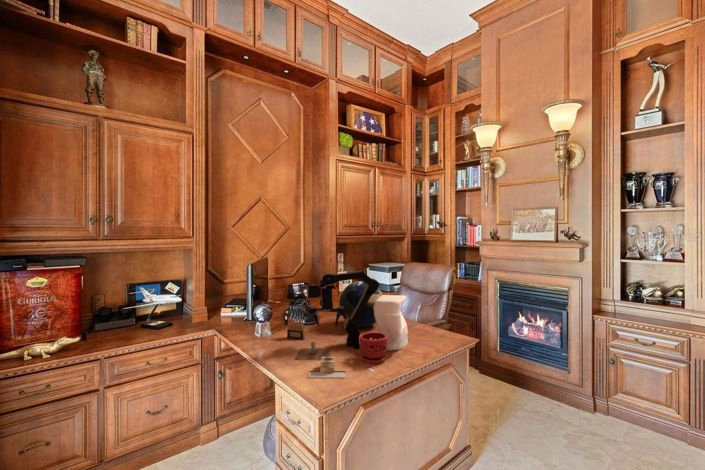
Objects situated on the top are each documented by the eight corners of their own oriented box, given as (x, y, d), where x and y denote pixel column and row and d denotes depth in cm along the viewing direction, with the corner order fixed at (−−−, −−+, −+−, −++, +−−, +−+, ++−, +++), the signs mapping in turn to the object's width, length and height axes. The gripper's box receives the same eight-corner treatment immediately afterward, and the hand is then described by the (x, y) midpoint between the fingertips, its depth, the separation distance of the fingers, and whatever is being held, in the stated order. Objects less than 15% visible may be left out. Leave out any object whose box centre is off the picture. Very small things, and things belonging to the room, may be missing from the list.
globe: (332, 323, 224) (332, 279, 224) (371, 318, 237) (371, 276, 236) (350, 335, 197) (350, 285, 196) (393, 329, 209) (393, 282, 209)
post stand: (330, 350, 173) (330, 337, 173) (327, 362, 157) (327, 348, 157) (300, 350, 173) (300, 337, 173) (294, 362, 157) (294, 348, 157)
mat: (346, 364, 154) (346, 364, 154) (345, 378, 140) (345, 377, 140) (312, 364, 154) (312, 363, 154) (307, 378, 140) (307, 377, 140)
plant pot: (383, 354, 167) (383, 330, 167) (390, 364, 154) (390, 339, 154) (357, 355, 165) (357, 332, 165) (362, 366, 152) (362, 340, 152)
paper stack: (413, 340, 188) (413, 295, 187) (400, 357, 163) (400, 305, 163) (378, 336, 196) (378, 293, 196) (361, 351, 171) (361, 302, 171)
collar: (335, 367, 150) (335, 356, 150) (334, 373, 144) (334, 361, 144) (321, 367, 150) (321, 356, 150) (320, 373, 144) (320, 361, 144)
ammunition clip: (287, 337, 193) (286, 317, 193) (288, 337, 195) (288, 316, 195) (303, 340, 190) (302, 319, 189) (304, 339, 191) (304, 318, 191)
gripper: (344, 294, 183) (344, 322, 183) (311, 294, 183) (311, 322, 183) (344, 298, 172) (344, 327, 172) (308, 298, 172) (308, 328, 172)
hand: (327, 326), depth 175 cm, fingers open, 9 cm apart
